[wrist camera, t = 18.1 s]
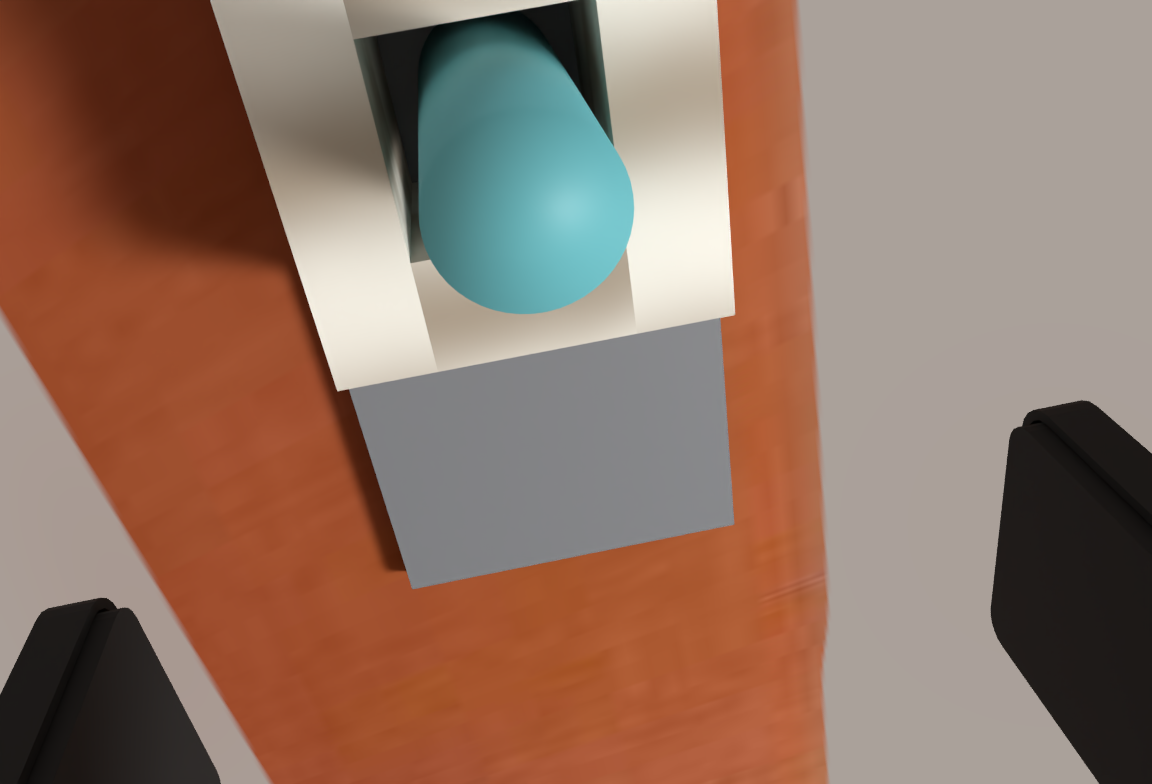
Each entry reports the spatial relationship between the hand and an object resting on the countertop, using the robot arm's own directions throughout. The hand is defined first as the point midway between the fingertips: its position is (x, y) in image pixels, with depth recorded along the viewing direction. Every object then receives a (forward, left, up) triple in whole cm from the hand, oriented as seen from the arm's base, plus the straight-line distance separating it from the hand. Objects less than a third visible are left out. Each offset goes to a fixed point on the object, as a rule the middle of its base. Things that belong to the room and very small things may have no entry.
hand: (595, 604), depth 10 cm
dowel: (0, 0, -21) cm, 21 cm away
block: (0, 0, -21) cm, 21 cm away
